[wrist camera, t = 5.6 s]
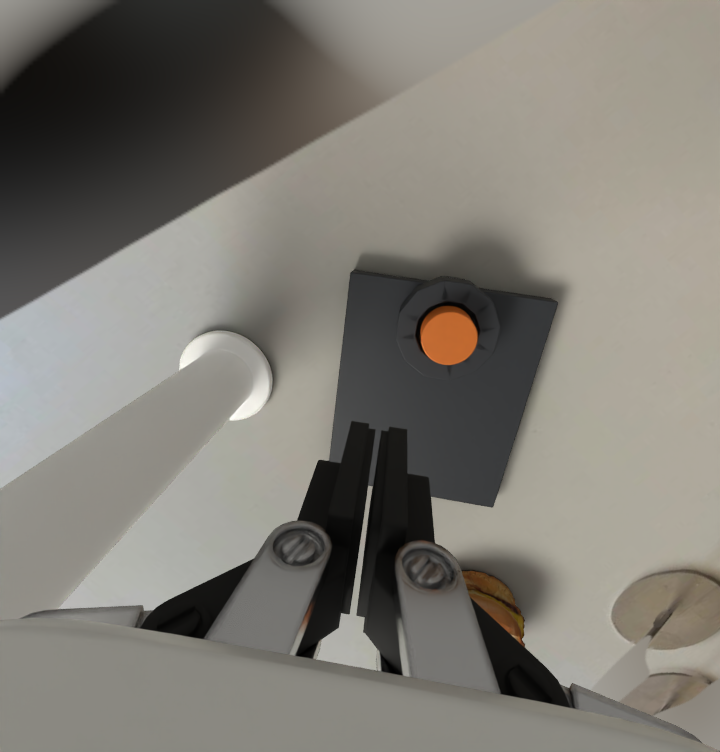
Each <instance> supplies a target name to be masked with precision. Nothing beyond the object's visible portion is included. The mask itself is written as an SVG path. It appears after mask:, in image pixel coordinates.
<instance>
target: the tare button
mask: <svg viewBox="0 0 720 752" xmlns="http://www.w3.org/2000/svg"><path fill="white" fill-rule="evenodd" d="M420 334H421V344H422V348H423V350H424V352H425V354H426V355H427V356H428V357H429V358H430V359H431V360H433V361H434V362H436V363H439V364H443V365H453V364H457V363H460V362H462V361H464V360H465V359H467V358H468V357H469V356H470V355H471V354H472V353H473V351H474V350H475V347H476V345H477V341H478V333H477V329H476V327H475V325H474V323H473V321H472V320H471V318H470V316H469V315H468V314H467V313H466V312H465V311H464V310H462V309H460V308H458V307H455V306H442V307H438V308H436V309H434V310H432V311H431V312H430V313H429V314H428V315H427V316H426V317H425V319H424V320H423V322H422V325H421V330H420Z"/></svg>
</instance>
